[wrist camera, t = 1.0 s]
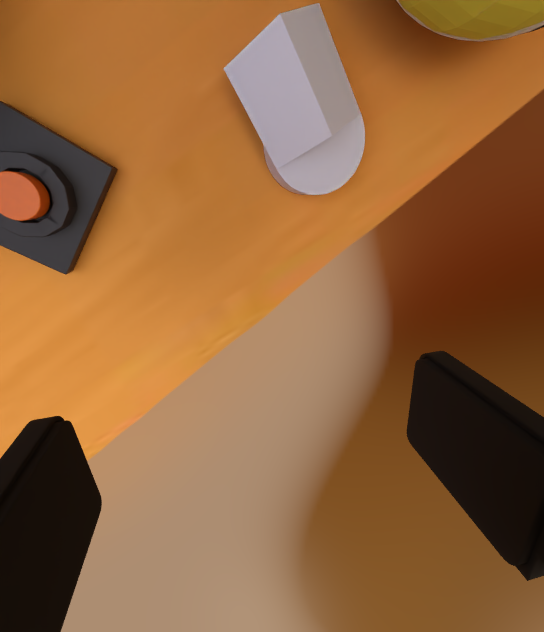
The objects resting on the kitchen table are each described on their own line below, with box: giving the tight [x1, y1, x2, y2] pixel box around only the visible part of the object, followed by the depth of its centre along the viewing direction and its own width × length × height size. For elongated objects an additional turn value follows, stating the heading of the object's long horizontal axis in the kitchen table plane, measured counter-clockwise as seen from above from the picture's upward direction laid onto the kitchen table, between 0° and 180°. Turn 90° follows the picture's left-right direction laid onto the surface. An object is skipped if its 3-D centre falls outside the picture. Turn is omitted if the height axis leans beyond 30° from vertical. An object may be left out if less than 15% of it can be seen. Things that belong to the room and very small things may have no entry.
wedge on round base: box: [224, 3, 365, 195], centre depth 27 cm, size 9×7×13 cm
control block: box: [0, 101, 117, 274], centre depth 27 cm, size 11×9×4 cm
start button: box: [0, 171, 50, 221], centre depth 25 cm, size 4×4×2 cm
